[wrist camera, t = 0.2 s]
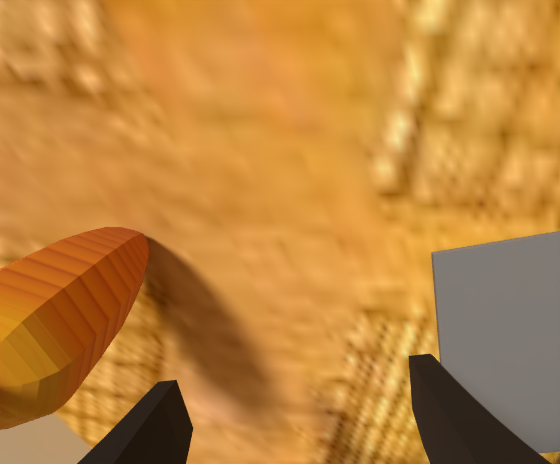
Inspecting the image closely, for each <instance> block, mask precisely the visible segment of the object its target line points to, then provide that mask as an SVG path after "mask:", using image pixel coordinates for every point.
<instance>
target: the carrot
mask: <svg viewBox="0 0 560 464" xmlns="http://www.w3.org/2000/svg"><path fill="white" fill-rule="evenodd" d="M148 256H149V246H148V241H147V239H146V238H145V236H144V234H143V233H140V232H137V231H134V230H130V229H126V228H122V227H104V228H100V229H96V230H92V231H88V232H84V233H81V234H78V235H75V236H72V237H68V238H65V239H62V240H60V241H58V242H56V243H54V244H52V245H49V246H47V247H45V248H43V249H41V250H39V251H36V252H34V253H32V254H30V255H28V256H26V257H24V258H22V259H20V260H17V261H15V262H13V263H11V264H9V265H7V266H5V267H3V268H1V269H0V430H1V429H8V428H11V427H14V426H17V425H20V424H23V423H26V422H29V421H32V420H34V419H38V418H40V417H43V416H46V415H49V414H52V413H53V412H55V411H56V410H58V409H59V408H60V407H62V406H63V405H64V404H65V403H66V402H67V401H68V400H69V399H70V398H71V397H72V396H73V394H74V393H75V392H76V390H77V389H78V388H79V386H80V385H81V384H82V382H83V381H84V379H85V378H86V377H87V375H88V374H89V373H90V371H91V370H92V369H93V367H94V366H95V365H96V363H97V362H98V361H99V359H100V358H101V356H102V355H103V354H104V352H105V351H106V349H107V348H108V346H109V345H110V343H111V342H112V340H113V339H114V337H115V336H116V335H117V333H118V332H119V330H120V329H121V327H122V326H123V324H124V322H125V320H126V318H127V316H128V314H129V312H130V310H131V308H132V306H133V304H134V301H135V299H136V297H137V294H138V292H139V289H140V287H141V285H142V282H143V278H144V274H145V270H146V266H147V262H148Z"/></svg>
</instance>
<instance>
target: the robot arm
mask: <svg viewBox="0 0 560 464" xmlns="http://www.w3.org/2000/svg"><path fill="white" fill-rule="evenodd" d="M409 368H410V382H411V396H412V409H413V413H414V416H415V420H416V423H417V426H418V430H419V433H420V436H421V440H422V443H423V446H424V449H425V451H426V454H427V456H428V458H429V461H430V463H431V464H551V463H550V462H549V461H547V460H546V459H545V458H544V457H542V456H541V455H540V454H538V453H537V452H536V451H535V450H533V449H532V448H531V447H530V446H528V445H527V444H526V443H525V442H524V441H522V440H521V439H520V438H519V437H518V436H516V435H515V434H514V433H513V432H512V431H511V430H509V429H508V428H507V427H506V426H505V425H504V424H502V423H501V422H500V421H499V420H498V419H497V418H496V417H494V416H493V415H492V414H491V413H490V412H489V411H488V410H487V409H486V408H485V407H484V406H483V405H481V404H480V403H479V402H478V401H477V400H476V399H475V398H474V397H473V396H472V395H471V394H470V393H469V392H468V391H467V390H466V389H465V388H464V387H463V386H462V385H461V384H460V383H459V382H458V381H457V380H456V379H455V378H454V377H453V376H452V375H451V374H450V373H449V372H448V371H447V370H446V369H445V368H444V367H443V366H442V365H441V364H440V363H439V362H438V361H437V359H436V358H435V357H434V356H432V355H431V354H424V355H414V356H409ZM192 432H193V426H192V423H191V420H190V418H189V415H188V412H187V409H186V406H185V403H184V400H183V397H182V395H181V392H180V389H179V386H178V383H177V380H171V381H162V382H158V383H157V384H156V385H155V386H154V387H153V388H152V389H151V390H150V391H149V392H148V393H147V394H146V395H145V396H144V397H143V398H142V399H141V400H140V401H139V402H138V403H137V404H136V405H135V406H134V407H133V408H132V409H131V410H130V411H129V412H128V414H127V415H126V416H125V417H124V418H123V419H122V420H121V421H120V422H119V423H118V424H117V425H116V426H115V427H114V428H113V429H112V430H111V431H110V432H109V433H108V434H107V435H106V436H105V437H104V438H103V439H102V440H101V441H100V442H99V443H98V444H97V445H96V446H95V447H94V448H93V449H92V450H91V451H90V452H89V453H88V454H87V455H86V456H85V457H84V458H83V459H82V460H80V461H79V462H78V463H77V464H186V461H187V456H188V452H189V447H190V442H191V437H192Z"/></svg>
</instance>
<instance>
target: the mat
mask: <svg viewBox="0 0 560 464" xmlns="http://www.w3.org/2000/svg"><path fill="white" fill-rule="evenodd" d="M431 254H432V267H433V279H434V292H435V304H436V317H437V329H438V342H439V354H440V364H441V365H442V366H443V367H444V368H445V369H446V370H447V371H448V372H449V373H450V374H451V375H452V376H453V377H454V378H455V379H456V380H457V381H458V382H459V383H460V384H461V385H462V386H463V387H464V388H465V389H466V390H467V391H468V392H469V393H470V394H471V395H472V396H473V397H474V398H475V399H476V400H477V401H478V402H479V403H480V404H481V405H483V406H484V407H485V408H486V409H487V410H488V411H489V412H490V413H491V414H492V415H493V416H494V417H496V418H497V419H498V420H499V421H500V422H501V423H502V424H504V425H505V426H506V427H507V428H508V429H509V430H511V431H512V432H513V433H514V434H515V435H516V436H518V437H519V438H520V439H521V440H522V441H524V442H525V443H526V444H527V445H528V446H530V447H531V448H532V449H533V450H535V451H536V452H537V453H547V452H558V451H560V231H558V232H552V233H546V234H540V235H534V236H528V237H522V238H516V239H510V240H504V241H498V242H492V243H486V244H480V245H474V246H468V247H462V248H456V249H450V250H444V251H438V252H432V253H431Z"/></svg>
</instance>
